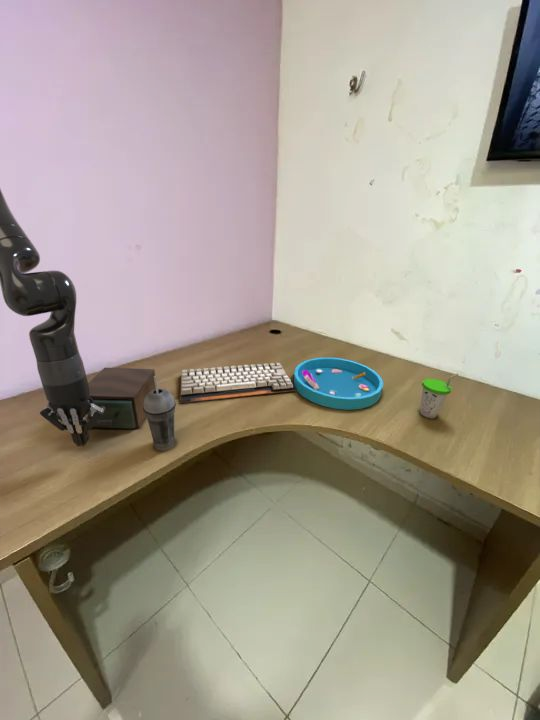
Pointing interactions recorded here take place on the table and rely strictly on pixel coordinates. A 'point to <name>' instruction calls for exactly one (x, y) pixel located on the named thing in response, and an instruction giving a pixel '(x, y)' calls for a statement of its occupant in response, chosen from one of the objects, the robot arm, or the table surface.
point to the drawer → (114, 414)
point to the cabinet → (124, 387)
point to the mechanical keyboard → (233, 382)
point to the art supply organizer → (338, 383)
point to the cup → (434, 396)
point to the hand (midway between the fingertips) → (82, 443)
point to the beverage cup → (160, 417)
